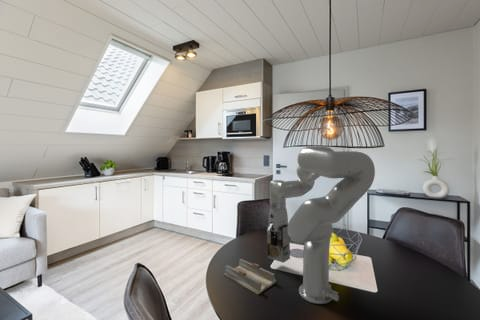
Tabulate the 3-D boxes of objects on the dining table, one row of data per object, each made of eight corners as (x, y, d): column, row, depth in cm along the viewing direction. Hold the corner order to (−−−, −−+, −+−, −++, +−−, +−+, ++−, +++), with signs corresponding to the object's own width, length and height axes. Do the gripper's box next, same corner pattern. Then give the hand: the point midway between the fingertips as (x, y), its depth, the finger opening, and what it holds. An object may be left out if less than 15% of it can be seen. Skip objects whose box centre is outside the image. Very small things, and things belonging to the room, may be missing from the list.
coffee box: (290, 258, 114) (289, 224, 114) (283, 263, 109) (282, 228, 109) (274, 253, 120) (273, 221, 120) (267, 257, 115) (266, 224, 115)
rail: (242, 266, 116) (242, 256, 115) (276, 282, 102) (276, 271, 101) (223, 275, 107) (223, 265, 107) (257, 294, 93) (257, 282, 93)
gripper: (273, 210, 105) (274, 250, 106) (294, 204, 118) (295, 240, 118) (260, 208, 111) (260, 246, 111) (281, 202, 123) (282, 237, 123)
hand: (278, 242), depth 114 cm, fingers closed on coffee box, 6 cm apart
